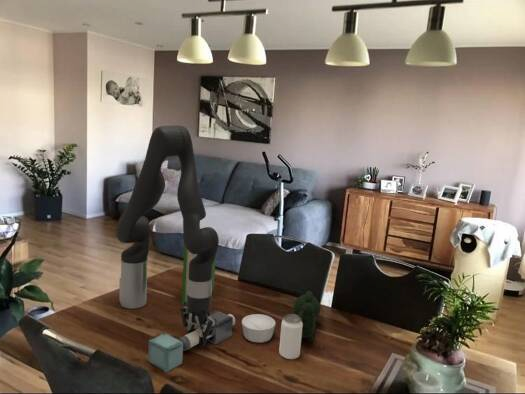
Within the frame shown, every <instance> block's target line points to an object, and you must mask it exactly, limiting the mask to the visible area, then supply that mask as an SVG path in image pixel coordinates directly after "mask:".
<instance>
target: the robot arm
mask: <svg viewBox="0 0 525 394" xmlns="http://www.w3.org/2000/svg"><path fill="white" fill-rule="evenodd" d="M191 136H192V135H191V134H190V132H189V130H188V128H186V127H185V126H183V125H160V126H157V127H156V128H155V129H154V130H153V131H152V133H151V136H150V138H149V143H148V145H147V149H146V154H145V157H144V162H143V164H142V168H141V170H140V171H139V175H138V177H137V180H136V182H135V184H134V186H133V189H132V193H131V196H130V198H129V201H128V203H127V205H126V206H125V209H124V210H123V212H122V213H121V216H120V218H119V220H118V222H117V225H116V230H115V232H116V238H117V240H118V241H119V242H120V243H122V244H132V245H131V246H129V247H128V248H126V249H124V250H122V252H121V253H120V254H121V255H120V278H119V283H118V284H119V292H118V293H119V294H118V295H119V299H118V302H119V303H120V306H121V307H123V308H124V309H139V308H142V307H144V306H145V305H147V289H148V288H147V287H148V284H147V283H148V255H149V251H150V239H151V238H150V237H151V226H150V225H151V224H150V221H149V219H148V218H147V217H146V216H145V215H146V213H148V212H149V211H151V210H152V209H153V208H155V206H157V205H158V203H159V202H160V200H161V198H162V195H163V194H164V191H165V189H166V181H165V177H164V174H163V172H162V169H161V168H162V166H163V164H164V161H165V160H166V159H167V158H169V157H177V158H178V159H179V163H180V177H179V182H178V186H177V192H176V196H177V197H176V198H177V202H178V206H179V210H180V212H181V216H182V234H183V236H182V237H183V245H184V244H185V246H186V248H187V250H188V251H189V252H190V253H192V254H197V256H196V257H195V258H193V259H192V260H191V261H190V263H189V275H188V283H187V301H186V303H185V306H183V307H181V308H180V314H181V320H182V326H183V327H184V328H186V330H187V334H189V333H191V332H193V331H195V330H197V329H198V330H199V334H200V336H199V344H198V347H199V348H200V349H202V348H203V347H205V346H206V345H207V340H206V338H207V337H208V336H209V335H212V333H213V330H214V328H215V325H216V322H217V320H216V319H212V318H211V317H210V313H211V312H210V309H211V307H212V294H213V293H212V292H213V291H212V265H213V262H214V259H215V256H216V255H217V253H218V249H219V244H220V243H219V241H220V239H219V234H218V233H217V231H216V230H215V229H214V228H213V227H210V226H207V227H201V221H202V220H204V219H205V218H206V215H207V213H206V208H205V204H204V203H203V202H204V201H203V199H202V195H201V190H200V188H199V184H198V176H197V168H196V160H195V154H194V146H193V140H192V137H191ZM215 260H216V259H215ZM202 324H203V325H202ZM201 325H202V326H201ZM196 326H197V327H196ZM196 328H197V329H196ZM203 329H204V332H203Z"/></svg>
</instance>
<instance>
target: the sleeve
mask: <svg viewBox="0 0 525 394" xmlns="http://www.w3.org/2000/svg"><path fill="white" fill-rule="evenodd" d="M209 313H210V317H211V318H212V319H216V320H217V322H216V325H215V328H214V330H213V336H212V337H210V338H208V339H206V342H209V343H211V344H212V345H215V346H216V345H218V344H220V343H221V342H223V341H225V340H227V339H228V338H230V337H232V336H233V326H234V325H233V317H231V316H229V315H228V314H226V313H224V312H222V311H219V310H217V309H215V310H213V311H210V312H209ZM202 325H203V324H202ZM202 325H201V326H202Z"/></svg>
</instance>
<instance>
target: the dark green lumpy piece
mask: <svg viewBox="0 0 525 394" xmlns="http://www.w3.org/2000/svg"><path fill="white" fill-rule="evenodd" d="M293 312H294V315H298V316H300V317H301V318H302V324H303V326H302V337H301V340H302V339H307V341H308V342H310V343H311V342H314V340H315V337H316V333H315V331H316V329H317V325H316V323H317V318H318V317H319V315H320V314H321V313H320V312H321V304H320V301H319V300H318V299H317V297H315V296H314V294H313V292H312V291H311V290H308V291H306V292H305V294H301V295H299V297H297V298H296V299H295V301H294V302H293Z"/></svg>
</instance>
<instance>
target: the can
mask: <svg viewBox="0 0 525 394" xmlns="http://www.w3.org/2000/svg"><path fill="white" fill-rule="evenodd" d="M302 326H303V324H302V318H301V317H300V316H298V315H295V313H294V314H293V313H289V314H285V315H284V316H283V319H282V320H281V326H280V336H279V338H280V339H279V351H278V353H279V355H280V357H281V358H283V359H286V360H296V359H298V358H299V357H300V355H301V346H302V345H301V344H302V339H301V337H302Z"/></svg>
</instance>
